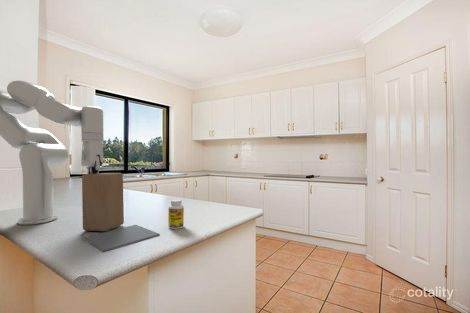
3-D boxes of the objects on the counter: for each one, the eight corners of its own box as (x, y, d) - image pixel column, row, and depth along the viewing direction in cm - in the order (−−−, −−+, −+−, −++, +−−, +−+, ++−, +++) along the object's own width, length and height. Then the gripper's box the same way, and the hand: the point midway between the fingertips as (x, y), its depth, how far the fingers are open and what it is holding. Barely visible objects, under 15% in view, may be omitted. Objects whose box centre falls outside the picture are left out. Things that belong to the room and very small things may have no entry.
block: (106, 232, 82) (105, 174, 82) (81, 231, 84) (80, 174, 84) (125, 224, 91) (124, 172, 92) (102, 223, 93) (101, 172, 94)
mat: (82, 238, 77) (82, 237, 77) (135, 225, 91) (135, 224, 91) (103, 251, 67) (103, 250, 67) (159, 235, 81) (159, 233, 81)
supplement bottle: (168, 230, 86) (168, 202, 86) (168, 225, 92) (168, 199, 91) (183, 229, 87) (183, 201, 87) (183, 224, 93) (183, 198, 93)
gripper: (75, 138, 96) (75, 183, 96) (89, 136, 87) (90, 186, 87) (95, 139, 102) (96, 182, 102) (110, 137, 92) (111, 184, 92)
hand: (93, 184), depth 94 cm, fingers closed
